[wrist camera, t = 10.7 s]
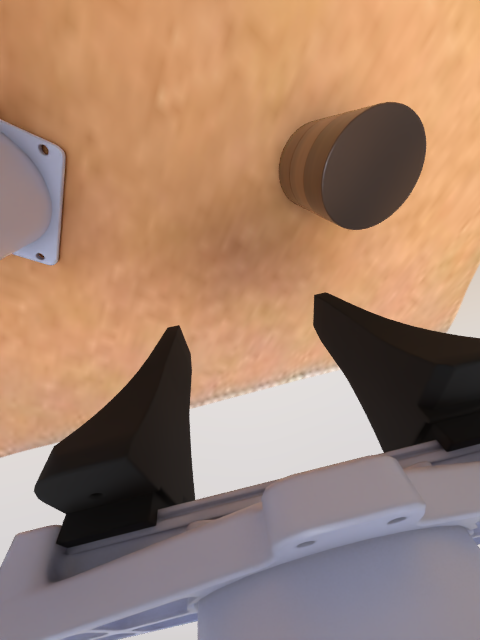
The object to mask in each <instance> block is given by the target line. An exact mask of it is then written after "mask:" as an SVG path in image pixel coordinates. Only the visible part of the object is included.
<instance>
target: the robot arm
mask: <svg viewBox="0 0 480 640" xmlns="http://www.w3.org/2000/svg"><path fill="white" fill-rule="evenodd" d="M42 145H45V146H46V147H47V148H48V150H49V153H48V155H46V154H45V153H44V152H43V151H42ZM65 161H66V157H65V153H64V151H63V150H62V149H61V147H59V146H58V145H56V144H54V143H51V142H49V141H47V140H45V139H43V138H41V137H38V136H36V135H34V134H32V133H30V132H27V131H25V130H23V129H21V128H19V127H17V126H14V125H12V124H10V123H8V122H6V121H3V120H1V119H0V260H1V259H3V258H5V257H7V256H8V255H10V254H13V255H17V256H20V257H24V258H27V259H30V260H34V261H37V262H40V263H44V264H47V265H54V264H56V263H57V262H58V259H59V245H60V231H61V217H62V203H63V189H64V175H65ZM39 253H41V254H43V256H44V258H42V257H40V256H39ZM313 326H314V328H315V330H316V332H317V334H318V336H319V338H320V340H321V342H322V343H323V345H324V346H325V347H326V349H327V350H328V352H329V353H330V355H331V356H332V357H333V359H334V360H335V362H336V363H337V365H338V366H339V367H340V369H341V370H342V372H343V373H344V375H345V376H346V378H347V379H348V381H349V383H350V385H351V387H352V388H353V390H354V392H355V394H356V396H357V398H358V400H359V402H360V404H361V405H362V407H363V409H364V411H365V413H366V415H367V417H368V419H369V421H370V423H371V426H372V428H373V429H374V432H375V434H376V436H377V438H378V440H379V443H380V445H381V447H382V450H383V452H384V453H382V454H378V455H371V456H366V457H361V458H357V459H353V460H349V461H345V462H341V463H337V464H333V465H330V466H326V467H321V468H318V469H313V470H310V471H306V472H301V473H297V474H294V475H290V476H287V477H285V478H282V479H278V480H274V481H270V482H266V483H262V484H258V485H254V486H250V487H246V488H242V489H238V490H234V491H230V492H227V493H222V494H218V495H214V496H210V497H206V498H202V499H199V500H195V493H194V483H193V471H192V458H191V443H190V424H189V408H190V392H191V375H192V367H191V354H190V351H189V349H188V346H187V344H186V341H185V339H184V336H183V333H182V331H181V328H180V326H179V325H178V326H174V327H169V328H167V330H166V331H165V333H164V334H163V336H162V337H161V339H160V341H159V342H158V344H157V345H156V347H155V348H154V350H153V351H152V353H151V354H150V356H149V357H148V359H147V360H146V361H145V363H144V364H143V365H142V367H141V368H140V370H139V371H138V372H137V373H136V375H135V376H134V377H133V378H132V379H131V380H130V381H129V383H128V384H127V385H126V386H125V387H124V388H123V389H122V390H121V391H120V392H119V393H118V394H117V395H116V396H115V397H114V398H113V399H112V400H111V401H110V402H109V403H108V404H107V405H106V406H105V407H104V408H102V409H101V410H100V411H99V412H98V413H97V414H96V415H94V416H93V417H92V418H91V419H90V420H88V421H87V422H86V423H85V424H83V425H82V426H81V427H80V428H78V429H77V430H76V431H74V432H73V433H72V434H70V435H69V436H68V437H66V438H65V439H64V440H62V441H61V442H60V443H58V444H57V445H56V446H54V448H53V450H52V451H51V454H50V456H49V458H48V460H47V462H46V464H45V466H44V468H43V470H42V472H41V474H40V477H39V479H38V481H37V483H36V485H35V489H34V492H35V494H36V496H37V497H38V499H40V500H41V501H42V502H44V503H46V504H48V505H50V506H52V507H54V508H56V509H58V510H59V511H61V512H63V513H65V514H66V516H65V519H64V521H63V525H62V526H61V525H51V526H46V527H42V528H38V529H34V530H30V531H26V532H22V533H19V534H17V535H16V536H15V537H14V540H13V542H12V544H11V546H10V548H9V550H8V552H7V554H6V557H5V559H4V561H3V563H2V565H1V567H0V640H118V639H123V638H127V637H131V636H136V635H140V634H144V633H148V632H153V631H157V630H161V629H166V628H170V627H174V626H179V625H183V624H187V623H192V622H196V621H198V640H480V548H479V547H478V546H477V545H478V544H480V338H473V337H465V336H458V335H452V334H447V333H441V332H436V331H431V330H427V329H423V328H418V327H414V326H410V325H407V324H403V323H400V322H397V321H393V320H390V319H387V318H384V317H382V316H379V315H376V314H374V313H371V312H369V311H366V310H364V309H361V308H359V307H357V306H355V305H352V304H350V303H348V302H346V301H344V300H342V299H340V298H337V297H335V296H333V295H331V294H328V293H326V292H325V293H321V294H317V295H314V320H313Z"/></svg>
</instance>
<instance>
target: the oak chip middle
mask: <svg viewBox="0 0 480 640" xmlns="http://www.w3.org/2000/svg"><path fill="white" fill-rule="evenodd" d="M349 112H350V111H349ZM346 113H348V112H346ZM343 114H345V113H342V114H338V115H334V116H331V117H327V118H325V119H322V120H321V121H319V122H317V123H316V124H314V125H313V126H312V127H311V128H310V129H309V130H308V131H307V132H306V133H305V134H304V135H303V137H302V138H301V140H300V141H299V143H298V145H297V147H296V149H295V151H294V154H293V157H292V161H291V166H290V184H291V189H292V192H293V194H294V196H295V198H296V200H297V201H298V202H299V204H301V205H302V206H303V207H304V208H306V209H307V210H309V211H311V212H313V213H315V212H314V211H313V209H312V208H311V207H310V205H309V203H308V201H307V199H306V196H305V192H304V184H303V179H304V169H305V164H306V160H307V157H308V154H309V152H310V150H311V148H312V146H313V144H314V142H315V140H316V139H317V137H318V136H319V135H320V133H321V132H322V131H323V130H324V129H325V127H326V126H327V125H329V124H330V123H331V122H332V121H333V120H335V119H336V118H337V117H339V116H341V115H343ZM315 214H316V213H315ZM317 215H318V214H317Z"/></svg>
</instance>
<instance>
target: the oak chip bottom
mask: <svg viewBox="0 0 480 640" xmlns="http://www.w3.org/2000/svg"><path fill="white" fill-rule="evenodd" d="M323 119H325V118H323ZM321 120H322V119H319V120H316V121H312V122H309V123H307V124H305V125H303V126H302V127H300V128H299V129H298V130H297V131H296V132H295V133H294V134H293V135H292V136H291V137H290V139H289V140H288V142H287V143H286V145H285V147H284V149H283V152H282V155H281V158H280V164H279V179H280V184H281V187H282V189H283V191H284V193H285V195H286V196H287V197H288V198H289V199H290V200H291V201H292V202H294V203H295V204H297V205H299V206H301V207H303V206H302V205H301V204H299V202H298V201H297V200H296V198H295V196H294V194H293V192H292V189H291V184H290V166H291V161H292V157H293V154H294V151H295V149H296V147H297V145H298V143H299V141H300V140H301V138H302V137H303V135H304V134H305V133H306V132H307V131H308V130H309V129H310V128H311V127H312V126H313V125H314V124H316V123H317V122H319V121H321ZM303 208H304V207H303ZM305 209H306V208H305Z"/></svg>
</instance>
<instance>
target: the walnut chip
mask: <svg viewBox="0 0 480 640" xmlns="http://www.w3.org/2000/svg"><path fill="white" fill-rule="evenodd" d="M425 153H426V136H425V131H424V127H423V124H422V122H421V120H420V118H419V116H418V115H417V114H416V113H415V112H414V111H413V110H412V109H411V108H409V107H408V106H406V105H404V104H401V103H396V102H386V103H380V104H376V105H373V106H369V107H365V108H361V109H358V110H354V111H350V112H348V113H345V114H343V115H341V116H339V117H337V118H336V119H335V120H333V121H332V122H331V123H330V124H329V125H327V126H326V127H325V129H324V130H323V131H322V132H321V133H320V135H319V136H318V137H317V139H316V140H315V142H314V144H313V146H312V148H311V150H310V152H309V154H308V157H307V160H306V164H305V169H304V179H303V184H304V192H305V196H306V199H307V201H308V203H309V205H310V207H311V208H312V209H313V211H314V212H315V213H316V214H318V215H319V216H321V217H323V218H325V219H326V220H328V221H330V222H332V223H334V224H336V225H338V226H341V227H343V228H346V229H350V230H361V229H366V228H369V227H372V226H375V225H377V224H379V223H381V222H382V221H384V220H385V219H387V218H388V217H390V216H391V215H392V214H393V213H394V212H395V211H396V210H397V209H398V208H399V207H400V206H401V205H402V204H403V203H404V202H405V200H406V199H407V198H408V196H409V195H410V193H411V192H412V190H413V188H414V187H415V185H416V183H417V181H418V178H419V176H420V173H421V171H422V167H423V164H424V160H425Z"/></svg>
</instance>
